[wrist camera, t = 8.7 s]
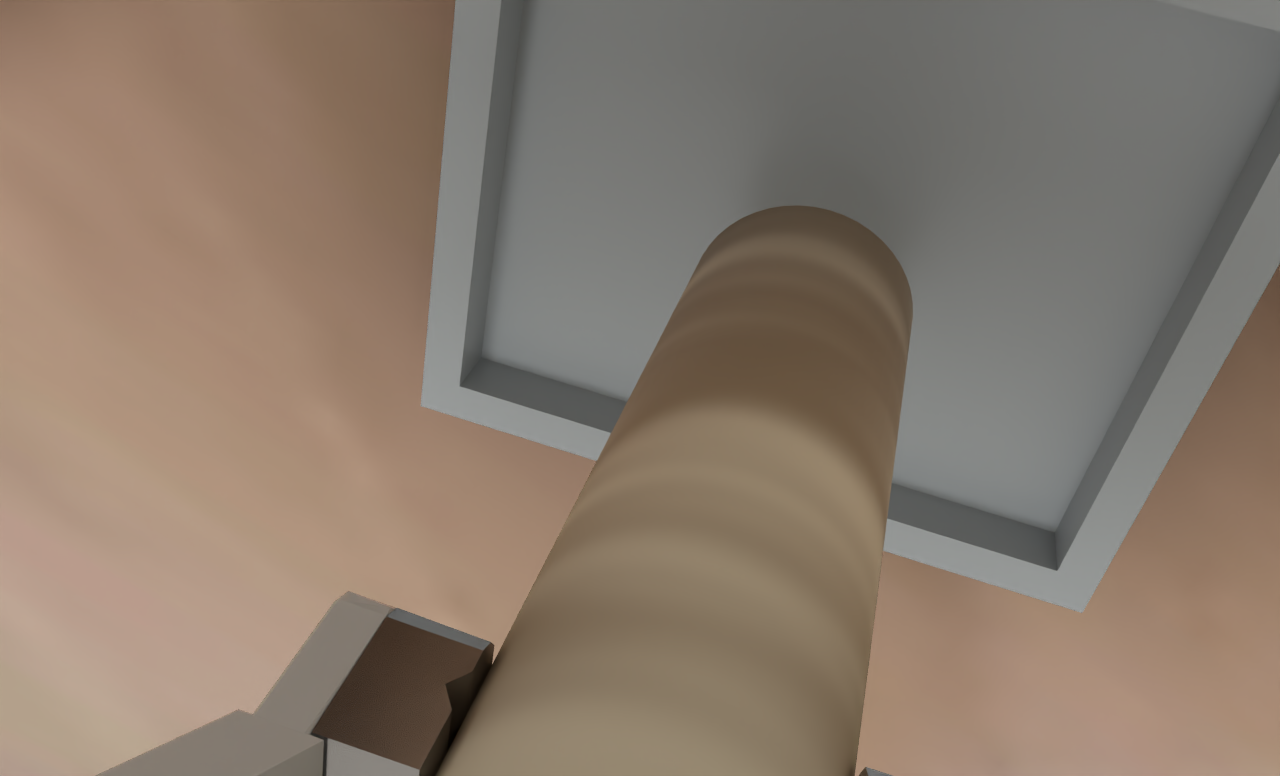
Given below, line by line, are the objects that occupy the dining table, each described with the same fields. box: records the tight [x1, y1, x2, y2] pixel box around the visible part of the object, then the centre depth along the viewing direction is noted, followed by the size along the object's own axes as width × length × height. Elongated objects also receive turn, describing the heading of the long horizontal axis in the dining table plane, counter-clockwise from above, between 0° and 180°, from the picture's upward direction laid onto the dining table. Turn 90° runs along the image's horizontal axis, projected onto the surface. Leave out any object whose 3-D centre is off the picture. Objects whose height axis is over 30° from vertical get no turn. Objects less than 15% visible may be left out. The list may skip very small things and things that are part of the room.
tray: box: [421, 0, 1280, 613], centre depth 21 cm, size 12×14×2 cm
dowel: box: [436, 205, 913, 776], centre depth 14 cm, size 4×4×12 cm
